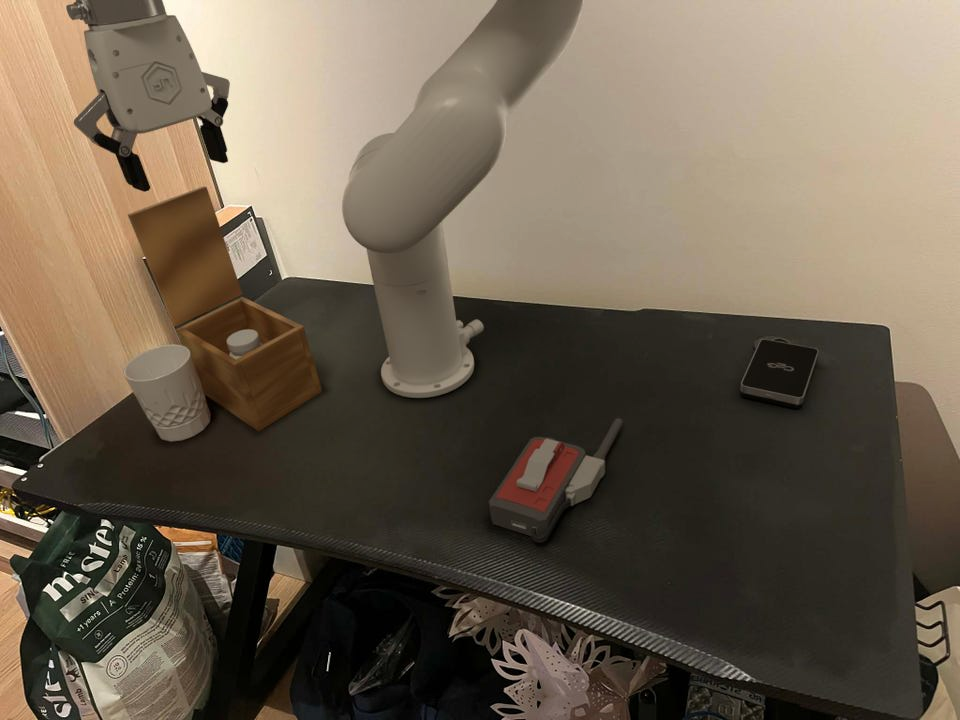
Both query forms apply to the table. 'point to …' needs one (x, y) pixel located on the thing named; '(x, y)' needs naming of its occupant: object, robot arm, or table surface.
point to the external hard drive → (779, 373)
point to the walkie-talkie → (547, 484)
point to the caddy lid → (186, 254)
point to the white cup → (169, 391)
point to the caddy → (252, 362)
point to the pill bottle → (243, 342)
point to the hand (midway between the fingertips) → (181, 174)
